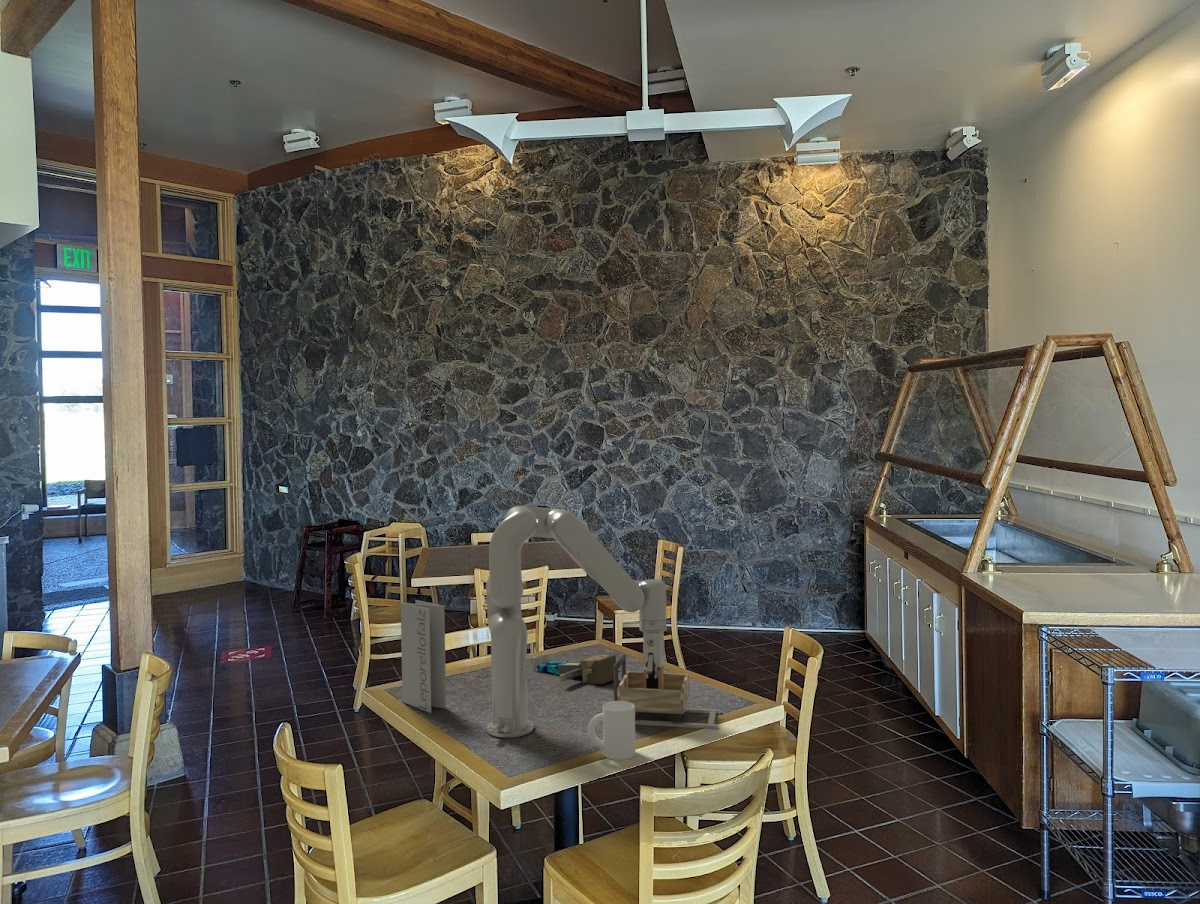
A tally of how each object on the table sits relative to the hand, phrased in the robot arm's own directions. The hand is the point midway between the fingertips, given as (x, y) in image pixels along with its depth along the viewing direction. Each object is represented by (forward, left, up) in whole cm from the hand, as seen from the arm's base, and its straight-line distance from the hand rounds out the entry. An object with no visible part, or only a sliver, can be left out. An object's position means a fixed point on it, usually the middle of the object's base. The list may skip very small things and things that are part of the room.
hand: (653, 688), depth 228 cm
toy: (+35, +31, -9) cm, 48 cm away
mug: (-28, +7, -8) cm, 30 cm away
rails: (0, -5, -8) cm, 10 cm away
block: (0, 0, -1) cm, 1 cm away
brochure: (0, +68, -8) cm, 69 cm away
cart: (0, +1, -7) cm, 7 cm away
